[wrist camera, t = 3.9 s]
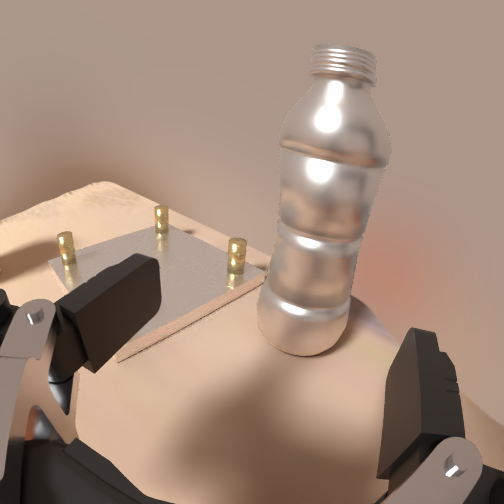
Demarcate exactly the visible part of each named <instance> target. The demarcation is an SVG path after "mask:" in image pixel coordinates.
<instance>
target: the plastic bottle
mask: <svg viewBox="0 0 504 504" xmlns="http://www.w3.org/2000/svg"><path fill="white" fill-rule="evenodd" d="M375 72H376V57H375V56H374V55H373V54H372V53H370V52H367V51H365V50H362V49H359V48H355V47H350V46H345V45H337V44H320V45H316V46H314V47H313V50H312V61H311V67H310V68H309V76H310V77H313V78H314V80H313V84H312V87H311V88H310V89H309V90H308V91H307V92H306V93H305V94H304V95H303V96H302V97H301V98H300V99H299V100H298V101H297V102H296V103H295V105H294V106H293V107H292V109H291V110H290V111H289V112H288V114H287V115H286V117H285V119H284V122H283V124H282V126H281V129H280V140H279V144H280V145H281V149H280V202H279V212H278V214H279V220H278V224H277V236H276V240H275V244H274V248H273V253H272V257H271V261H270V265H269V269H268V274H267V276H266V278H265V281H264V283H263V286H262V288H261V292H260V295H259V298H258V302H257V319H258V326H259V329H260V331H261V332H262V334H263V335H264V337H265V338H266V339H267V341H268V342H269V343H270V344H271V345H273V346H274V347H275V348H277V349H279V350H281V351H283V352H286V353H288V354H292V355H298V356H310V355H315V354H319V353H321V352H323V351H325V350H327V349H329V348H331V347H332V346H333V345H334V344H335V343H336V342H337V341H338V339H339V337H340V336H341V334H342V332H343V331H344V329H345V327H346V325H347V321H348V315H349V310H350V299H351V296H350V293H351V288H352V283H353V278H354V272H355V268H356V263H357V257H358V251H359V248H360V245H361V242H362V239H363V237H362V234H363V233H364V232H365V229H366V226H367V222H368V219H369V215H370V212H371V209H372V206H373V204H374V201H375V198H376V195H377V193H378V190H379V187H380V185H381V182H382V179H383V176H384V173H385V171H386V169H385V167H386V165H387V164H388V161H389V157H390V153H391V143H390V134H389V131H388V129H387V127H386V124H385V122H384V120H383V117H382V115H381V113H380V112H379V110H378V108H377V106H376V104H375V103H374V101H373V99H372V97H371V90H370V89H371V87H376V82H377V79H376V78H375Z"/></svg>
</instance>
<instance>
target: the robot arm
mask: <svg viewBox="0 0 504 504" xmlns="http://www.w3.org/2000/svg"><path fill="white" fill-rule="evenodd" d="M161 301H162V295H161V282H160V267H159V262H158V260H157V259H155V258H152V257H149V256H146V255H143V254H139V253H135V254H133V255H131V256H130V257H128V258H126V259H125V260H123V261H122V262H120V263H119V264H116V265H113V266H110V267H107V268H106V269H104V270H102V271H101V272H99V273H98V274H96V276H93V277H92V278H90V279H89V280H87V283H86V282H84V283H83V284H81V285H80V286H78V287H77V288H75V289H74V290H72V291H71V292H69V293H68V294H67V295H65V296H64V297H62V298H61V299H59V300H58V301H56V302H55V303H52V302H51V301H49V300H46V299H36V300H32V301H29V302H27V303H25V304H23V305H22V306H21V307H18V306H14V305H10V303H9V300H8V297H7V294H6V292H5V291H4V290H3V289H0V504H174V503H170V502H166V501H162V500H158V499H154V498H151V497H148V496H146V495H144V494H143V493H142V492H141V491H140V490H138V489H137V488H136V487H135V486H134V485H133V484H132V483H131V482H130V481H129V480H128V479H127V478H126V477H125V476H124V475H123V474H122V473H121V472H120V471H119V470H118V469H117V468H116V467H115V466H114V465H113V464H112V463H111V462H110V461H109V460H108V459H106V458H105V457H103V456H102V455H100V454H99V453H97V452H96V451H94V450H93V449H91V448H90V447H89V446H87V445H86V444H85V443H83V442H82V441H80V440H79V437H78V433H77V430H76V425H75V418H76V405H77V395H78V386H79V372H78V369H79V368H80V367H82V366H83V367H85V368H86V369H88V370H90V371H91V372H93V373H94V374H95V373H96V372H97V371H98V370H99V369H100V368H101V367H102V366H103V365H104V364H105V363H106V362H107V361H108V360H109V359H110V358H111V357H112V356H113V355H114V354H115V353H116V352H117V351H119V350H120V349H121V348H122V347H123V346H124V345H125V344H126V343H127V342H128V341H129V340H130V339H131V338H132V337H133V336H134V335H135V334H136V333H137V332H138V331H139V330H140V329H141V328H143V327H144V326H145V325H146V324H147V323H148V322H149V321H150V320H151V319H152V318H153V317H154V316H155V315H156V314H157V312H158V311H159V309H160V306H161ZM456 382H457V377H456V372H455V367H454V365H453V363H452V362H451V360H450V358H449V357H448V355H447V354H446V353H445V352H440V351H439V347H438V342H437V337H436V334H435V333H434V332H430V331H426V330H421V329H417V328H410V330H409V331H408V332H407V334H406V337H405V339H404V341H403V343H402V345H401V347H400V349H399V351H398V353H397V355H396V357H395V359H394V361H393V363H392V365H391V367H390V369H389V372H388V376H387V380H386V388H385V406H384V419H383V430H382V440H381V448H380V456H379V464H378V471H377V477H376V478H378V479H386V480H389V486H388V490H387V491H386V492H384V493H383V494H382V495H381V496H380V497H379V498H378V499H377V500H375V501H374V502H373V503H372V504H504V472H503V471H500V470H497V469H494V468H491V467H489V466H486V465H484V464H483V462H482V457H481V454H480V452H479V450H478V449H477V447H476V446H475V445H474V444H473V443H472V442H470V441H469V440H467V439H466V438H465V429H464V421H463V413H462V406H461V399H460V395H458V394H459V387H458V383H456Z"/></svg>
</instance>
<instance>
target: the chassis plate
mask: <svg viewBox="0 0 504 504" xmlns="http://www.w3.org/2000/svg"><path fill="white" fill-rule="evenodd" d="M57 239H58V244H59V250H60V255H61V256H59V257H56V258H53V259H51V260H48V264H49V269H50V271H51V273H52V275H53V276H54V278H55V279H56V281H57V283H58V284H59V286H60V287H61V289H62V290H63V292H64V293H65V295H67V294H68V293H69V292H71V291H72V290H74V289H75V288H77V287H78V286H80V285H81V284H83V283H84V282H86V283H87V280H89V279H90V278H92V277H93V276H96V274H98V273H99V272H101V271H102V270H104V269H106V268H107V267H110V266H113V265H116V264H119V263H120V262H122V261H123V260H125V259H126V258H128V257H130V256H131V255H133V254H135V253H139V254H143V255H146V256H149V257H152V258H155V259H157V260H158V262H159V267H160V282H161V295H162V301H161V306H160V309H159V311H158V312H157V314H156V315H155V316H154V317H153V318H152V319H151V320H150V321H149V322H148V323H147V324H146V325H145V326H144V327H143V328H141V329H140V330H139V331H138V332H137V333H136V334H135V335H134V336H133V337H132V338H131V339H130V340H129V341H128V342H127V343H126V344H125V345H124V346H123V347H122V348H121V349H120V350H119V351H117V352H116V353H115V354H114V355H113V356H112V358H113V359H114V360H115V361H116V363H118V362H120V361H122V360H124V359H126V358H128V357H130V356H132V355H134V354H135V353H137V352H139V351H141V350H143V349H145V348H147V347H149V346H151V345H152V344H154V343H156V342H158V341H160V340H162V339H164V338H165V337H167V336H169V335H171V334H173V333H175V332H177V331H178V330H180V329H182V328H184V327H186V326H188V325H189V324H191V323H193V322H195V321H197V320H198V319H200V318H202V317H204V316H206V315H207V314H209V313H211V312H213V311H215V310H216V309H218V308H220V307H222V306H224V305H225V304H227V303H229V302H231V301H232V300H234V299H236V298H238V297H239V296H241V295H243V294H245V293H247V292H248V291H250V290H252V289H254V288H255V287H257V286H259V285H260V284H262V283H264V279H265V271H263V270H261V269H259V268H257V267H255V266H253V265H251V264H249V263H247V262H245V256H246V245H247V242H246V240H245V239H242V238H231V239H230V240H229V246H228V253H226V252H224V251H222V250H220V249H218V248H216V247H214V246H212V245H210V244H208V243H206V242H204V241H202V240H200V239H198V238H196V237H194V236H192V235H190V234H188V233H186V232H184V231H182V230H180V229H178V228H176V227H174V226H172V225H170V224H168V206H165V205H159V206H156V207H155V226H153V227H150V228H146V229H143V230H140V231H137V232H133V233H130V234H127V235H123V236H120V237H117V238H114V239H111V240H108V241H104V242H101V243H98V244H95V245H92V246H89V247H86V248H83V249H80V250H77V251H75V249H74V243H73V237H72V232H69V231H66V232H62V233H59V234H58V235H57Z"/></svg>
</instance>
